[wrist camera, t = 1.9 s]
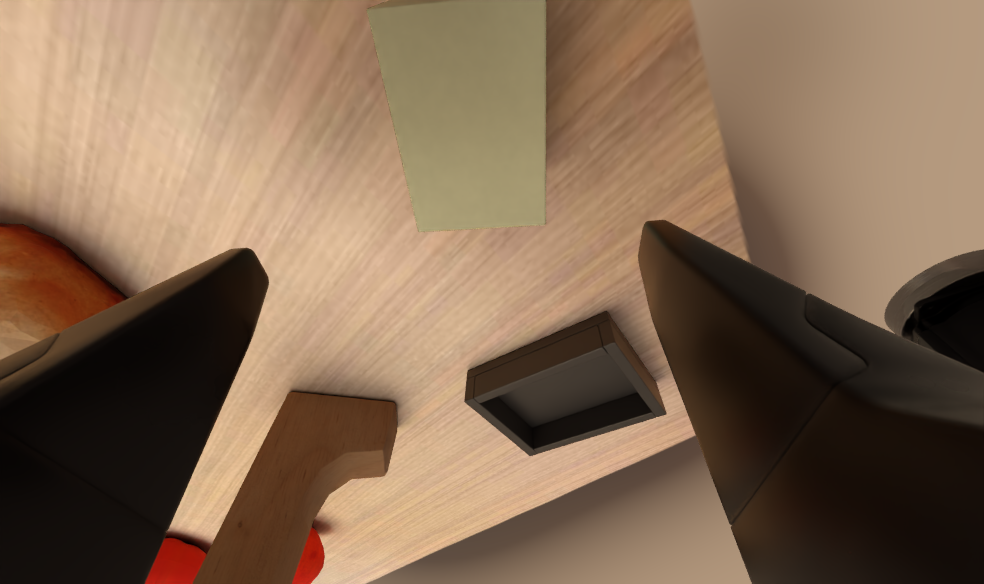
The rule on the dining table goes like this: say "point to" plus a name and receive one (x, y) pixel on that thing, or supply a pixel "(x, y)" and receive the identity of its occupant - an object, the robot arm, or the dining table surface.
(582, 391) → the mount
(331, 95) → the dining table surface
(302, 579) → the apple
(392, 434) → the wooden block
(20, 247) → the ceramic vessel
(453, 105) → the olive green block
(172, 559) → the tomato
